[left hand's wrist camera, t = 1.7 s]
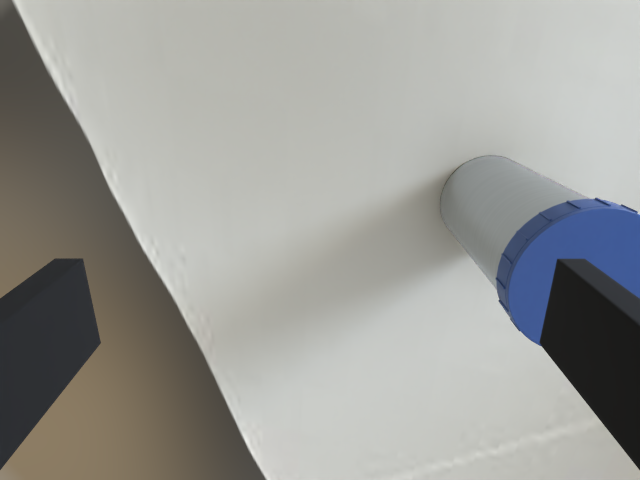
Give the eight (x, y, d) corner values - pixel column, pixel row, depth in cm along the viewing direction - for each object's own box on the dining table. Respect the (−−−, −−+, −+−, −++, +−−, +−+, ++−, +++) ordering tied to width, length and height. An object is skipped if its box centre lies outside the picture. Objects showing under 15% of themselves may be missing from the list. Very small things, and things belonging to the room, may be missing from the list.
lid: (663, 302, 27) (686, 317, 26) (518, 355, 29) (531, 374, 27) (634, 171, 24) (658, 179, 23) (474, 238, 26) (485, 250, 24)
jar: (541, 220, 41) (671, 311, 26) (457, 255, 43) (534, 361, 27) (516, 139, 39) (644, 187, 23) (427, 179, 40) (493, 250, 25)
